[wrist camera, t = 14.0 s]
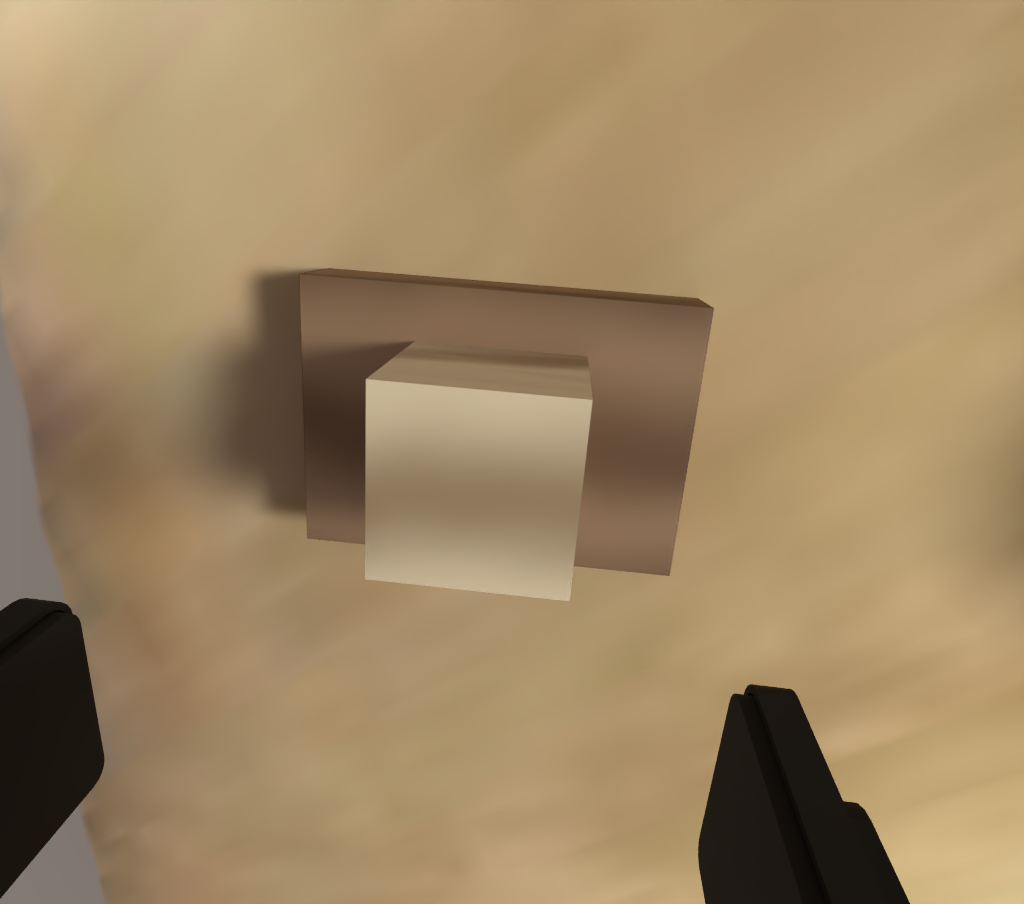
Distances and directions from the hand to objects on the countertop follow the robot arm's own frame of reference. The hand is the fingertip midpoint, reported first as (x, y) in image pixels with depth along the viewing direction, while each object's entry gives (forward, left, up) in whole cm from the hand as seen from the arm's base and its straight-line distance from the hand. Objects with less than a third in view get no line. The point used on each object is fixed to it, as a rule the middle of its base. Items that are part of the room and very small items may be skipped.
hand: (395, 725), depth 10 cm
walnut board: (0, 0, -19) cm, 19 cm away
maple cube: (0, 0, -16) cm, 16 cm away
